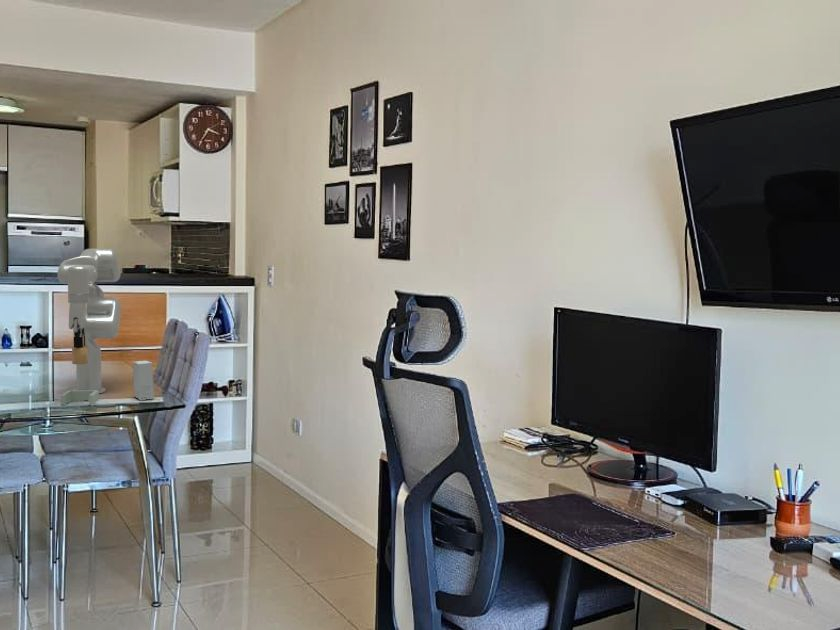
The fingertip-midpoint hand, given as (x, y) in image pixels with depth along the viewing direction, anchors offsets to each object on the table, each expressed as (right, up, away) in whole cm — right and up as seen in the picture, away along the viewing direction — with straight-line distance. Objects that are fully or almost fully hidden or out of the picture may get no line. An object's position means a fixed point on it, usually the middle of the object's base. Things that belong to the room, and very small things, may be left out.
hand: (79, 346), depth 341 cm
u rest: (-1, -22, +2) cm, 22 cm away
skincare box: (+20, -21, +14) cm, 32 cm away
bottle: (0, -6, +1) cm, 7 cm away
